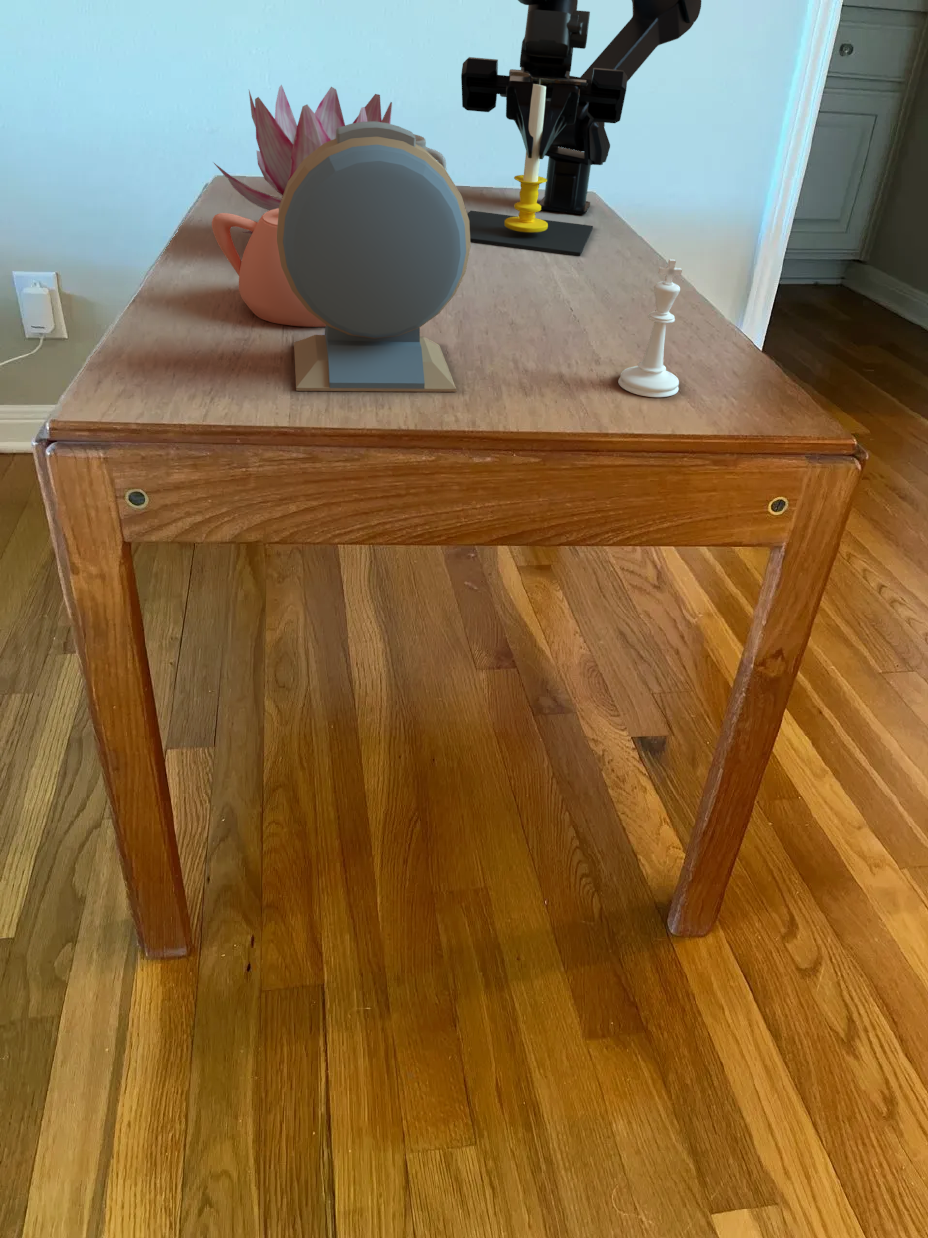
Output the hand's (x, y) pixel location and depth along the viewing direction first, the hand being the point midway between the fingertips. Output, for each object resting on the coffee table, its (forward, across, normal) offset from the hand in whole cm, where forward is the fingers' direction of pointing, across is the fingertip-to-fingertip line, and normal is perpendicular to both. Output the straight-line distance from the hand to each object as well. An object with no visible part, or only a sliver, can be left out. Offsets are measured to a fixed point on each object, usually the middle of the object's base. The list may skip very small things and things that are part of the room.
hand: (535, 156), depth 108 cm
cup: (-2, -17, +15) cm, 23 cm away
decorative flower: (+16, -22, -3) cm, 27 cm away
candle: (+5, 0, +7) cm, 8 cm away
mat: (+4, -1, +9) cm, 10 cm away
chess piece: (+37, +12, -24) cm, 46 cm away
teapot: (+30, -18, -17) cm, 39 cm away
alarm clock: (+39, -10, -26) cm, 48 cm away
